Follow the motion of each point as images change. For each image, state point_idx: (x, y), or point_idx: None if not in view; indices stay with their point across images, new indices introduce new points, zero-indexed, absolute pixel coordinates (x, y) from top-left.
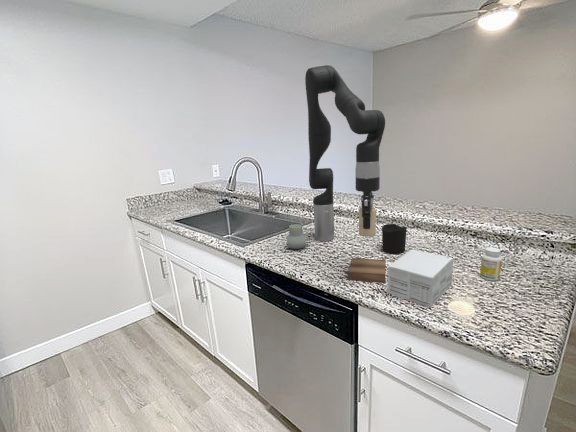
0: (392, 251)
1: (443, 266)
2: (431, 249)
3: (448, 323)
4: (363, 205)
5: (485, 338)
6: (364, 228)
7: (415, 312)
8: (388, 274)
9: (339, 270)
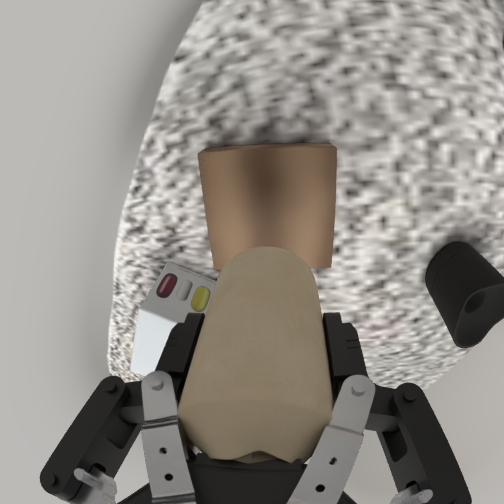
0: (430, 272)
1: None
2: (435, 341)
3: (121, 336)
4: (59, 456)
5: (115, 358)
6: (191, 316)
7: (123, 303)
8: (149, 293)
9: (275, 104)
